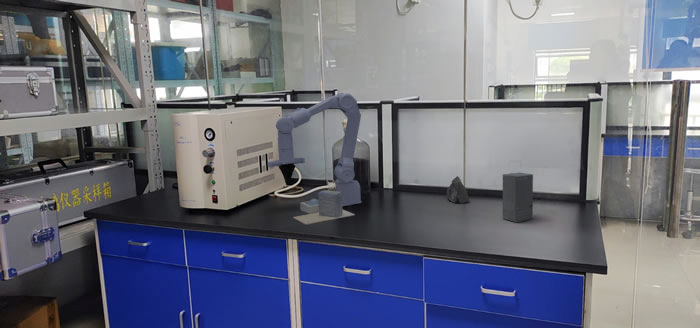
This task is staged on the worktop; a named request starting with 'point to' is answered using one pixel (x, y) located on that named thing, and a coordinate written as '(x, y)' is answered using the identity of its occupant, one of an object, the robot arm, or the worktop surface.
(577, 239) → the worktop surface
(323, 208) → the medicine box
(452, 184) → the mineral rock
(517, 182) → the skincare box
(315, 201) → the dome button
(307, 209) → the button box
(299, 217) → the cream flat sheet
